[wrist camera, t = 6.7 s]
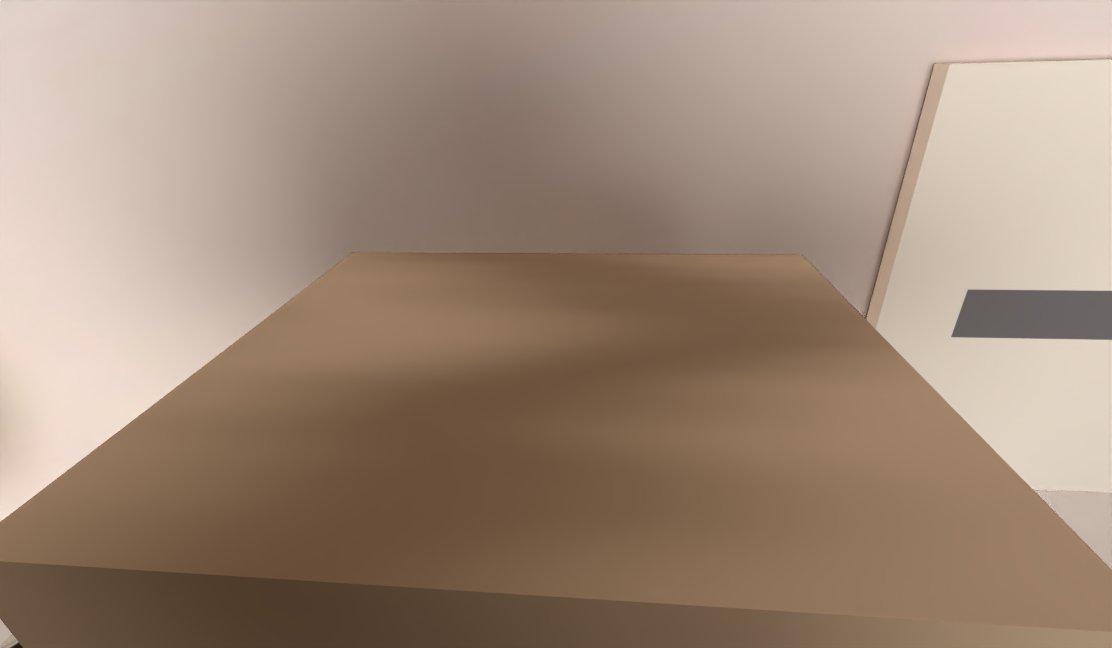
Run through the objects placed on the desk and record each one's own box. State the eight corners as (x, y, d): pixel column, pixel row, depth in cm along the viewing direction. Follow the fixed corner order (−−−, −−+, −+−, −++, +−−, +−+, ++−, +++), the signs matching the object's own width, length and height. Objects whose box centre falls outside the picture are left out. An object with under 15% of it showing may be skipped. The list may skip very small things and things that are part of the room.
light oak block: (802, 254, 7) (1178, 635, 2) (740, 573, 9) (857, 1030, 5) (352, 252, 7) (-49, 557, 3) (415, 553, 10) (260, 952, 6)
